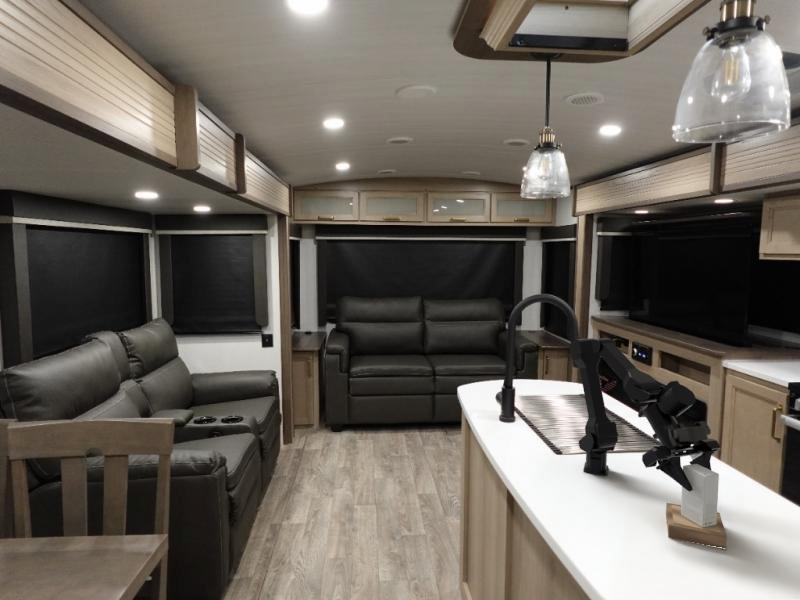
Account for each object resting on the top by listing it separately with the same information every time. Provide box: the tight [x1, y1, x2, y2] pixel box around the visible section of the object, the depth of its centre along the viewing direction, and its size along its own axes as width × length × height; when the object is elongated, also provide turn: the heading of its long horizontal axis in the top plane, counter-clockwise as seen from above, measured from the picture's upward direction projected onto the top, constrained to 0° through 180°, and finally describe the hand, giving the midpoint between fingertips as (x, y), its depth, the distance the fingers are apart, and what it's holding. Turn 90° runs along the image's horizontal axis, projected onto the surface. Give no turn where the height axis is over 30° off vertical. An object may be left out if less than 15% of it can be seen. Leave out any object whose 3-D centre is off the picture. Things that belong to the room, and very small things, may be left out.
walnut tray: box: [665, 502, 728, 549], centre depth 113 cm, size 11×11×3 cm
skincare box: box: [680, 464, 720, 528], centre depth 112 cm, size 6×4×12 cm
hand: (702, 488), depth 111 cm, fingers open, 6 cm apart
